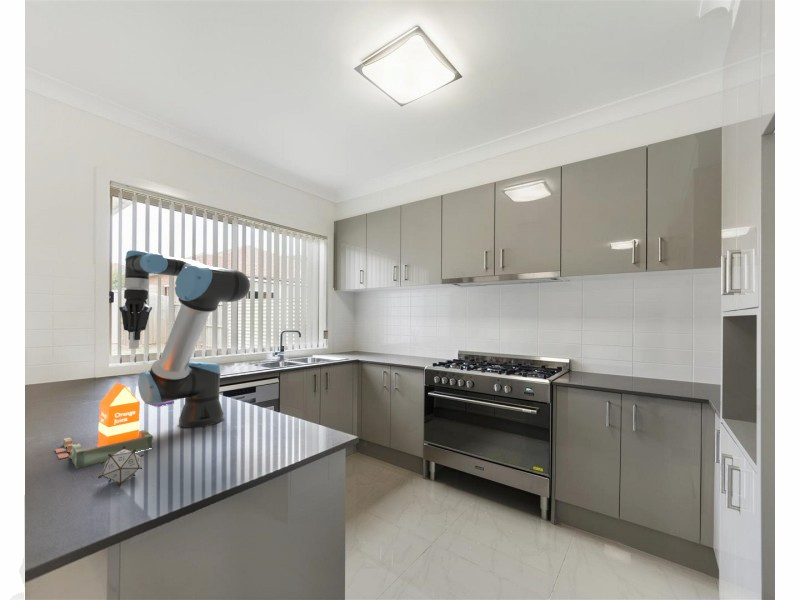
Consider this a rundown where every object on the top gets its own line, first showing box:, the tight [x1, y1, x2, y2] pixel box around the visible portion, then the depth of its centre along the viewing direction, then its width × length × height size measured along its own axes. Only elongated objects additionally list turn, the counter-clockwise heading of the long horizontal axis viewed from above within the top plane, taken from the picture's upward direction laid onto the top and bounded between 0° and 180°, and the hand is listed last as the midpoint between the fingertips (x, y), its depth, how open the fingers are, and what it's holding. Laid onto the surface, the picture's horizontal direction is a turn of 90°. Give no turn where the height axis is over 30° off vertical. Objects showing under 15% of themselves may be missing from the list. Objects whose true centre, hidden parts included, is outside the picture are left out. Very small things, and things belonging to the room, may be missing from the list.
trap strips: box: [54, 447, 70, 460], centre depth 99 cm, size 10×2×1 cm, turn 51°
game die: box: [97, 446, 145, 487], centre depth 83 cm, size 9×8×10 cm
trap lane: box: [62, 429, 154, 469], centre depth 104 cm, size 26×17×4 cm, turn 51°
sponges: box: [152, 400, 175, 407], centre depth 158 cm, size 7×13×2 cm, turn 59°
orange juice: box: [97, 382, 141, 447], centre depth 103 cm, size 8×9×20 cm
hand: (133, 348), depth 132 cm, fingers closed
